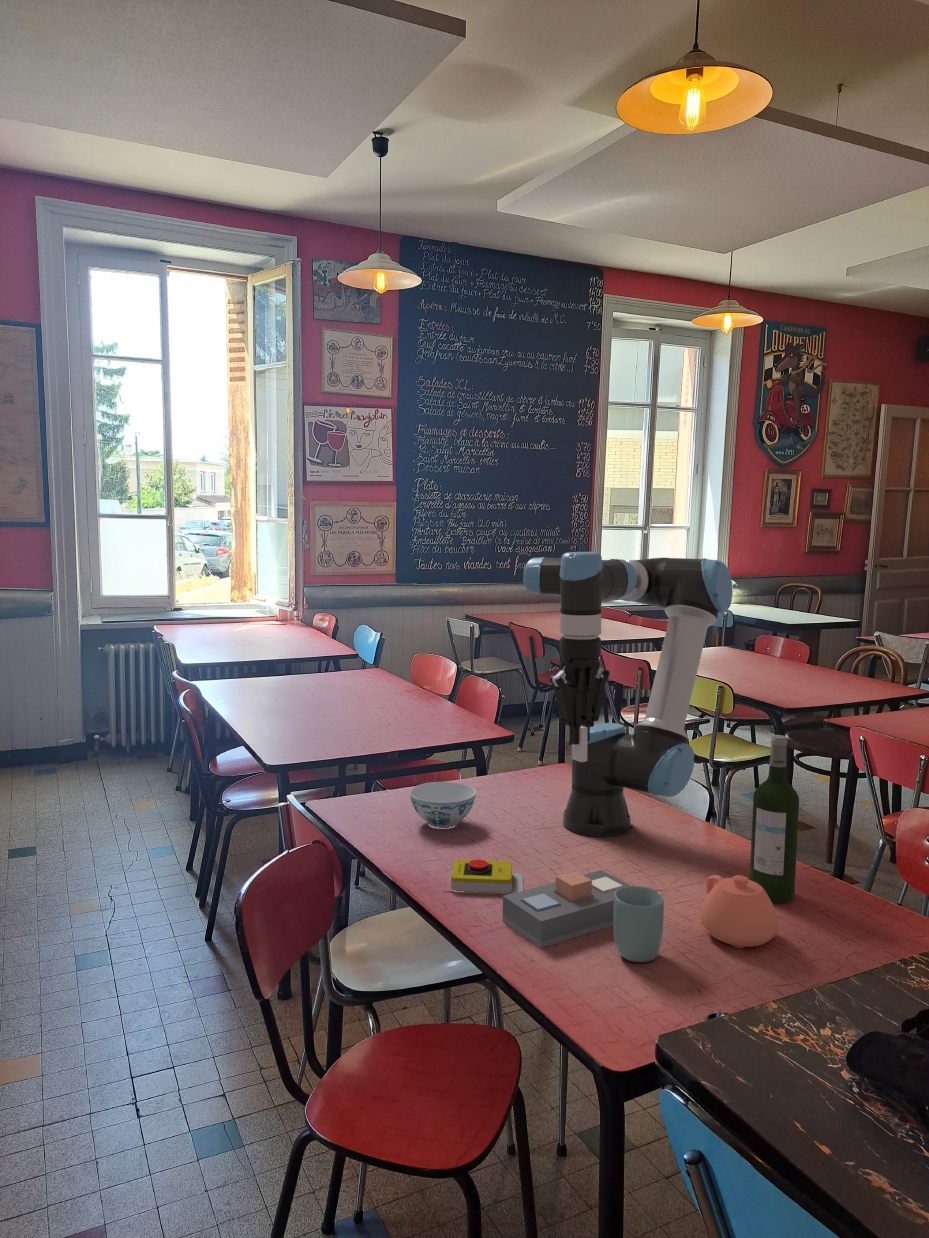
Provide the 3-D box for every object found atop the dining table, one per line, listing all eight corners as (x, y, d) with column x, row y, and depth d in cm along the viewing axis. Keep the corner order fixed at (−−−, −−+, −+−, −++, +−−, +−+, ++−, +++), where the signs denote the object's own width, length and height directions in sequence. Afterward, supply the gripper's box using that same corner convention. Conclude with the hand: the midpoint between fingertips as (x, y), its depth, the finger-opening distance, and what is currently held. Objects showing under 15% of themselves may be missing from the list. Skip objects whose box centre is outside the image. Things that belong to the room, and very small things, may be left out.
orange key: (575, 890, 151) (575, 871, 151) (591, 899, 148) (592, 880, 147) (555, 895, 149) (555, 876, 149) (571, 905, 145) (571, 885, 145)
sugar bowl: (738, 961, 135) (741, 898, 134) (677, 924, 147) (679, 866, 146) (793, 944, 141) (796, 884, 140) (730, 909, 153) (733, 854, 152)
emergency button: (446, 852, 168) (523, 855, 167) (446, 874, 169) (522, 876, 168) (442, 871, 159) (523, 874, 158) (442, 894, 159) (523, 897, 158)
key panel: (600, 893, 159) (601, 869, 159) (642, 916, 150) (643, 891, 149) (502, 920, 148) (502, 895, 147) (540, 947, 138) (541, 921, 138)
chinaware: (487, 821, 197) (488, 788, 196) (452, 841, 185) (452, 806, 184) (434, 809, 205) (434, 777, 204) (396, 827, 193) (396, 794, 192)
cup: (606, 944, 140) (608, 886, 139) (653, 943, 140) (655, 884, 139) (619, 969, 132) (621, 907, 131) (668, 967, 133) (671, 905, 132)
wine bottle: (793, 889, 162) (801, 733, 158) (794, 906, 154) (803, 743, 151) (749, 883, 164) (756, 729, 161) (748, 900, 157) (756, 739, 154)
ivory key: (605, 895, 155) (605, 876, 155) (621, 904, 152) (622, 885, 151) (586, 900, 153) (586, 881, 153) (602, 910, 149) (603, 890, 149)
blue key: (543, 912, 148) (543, 893, 148) (558, 922, 144) (559, 903, 144) (522, 918, 146) (522, 898, 145) (537, 929, 142) (538, 908, 142)
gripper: (593, 630, 165) (592, 749, 168) (540, 636, 158) (539, 760, 161) (620, 635, 159) (618, 758, 162) (566, 641, 152) (565, 771, 155)
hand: (579, 759), depth 162 cm, fingers closed
